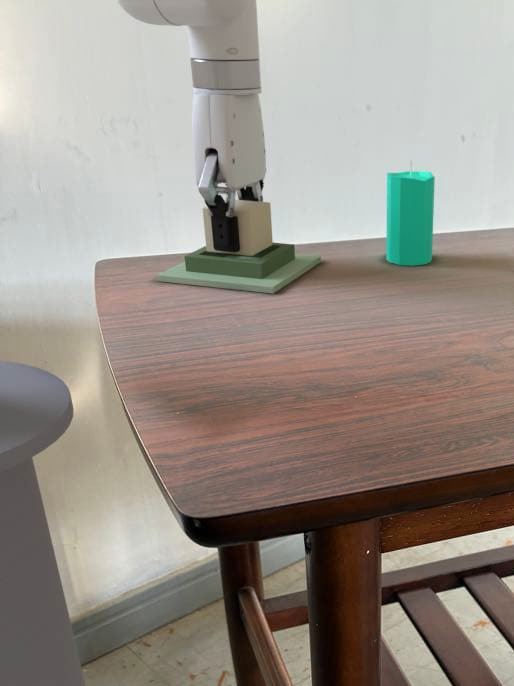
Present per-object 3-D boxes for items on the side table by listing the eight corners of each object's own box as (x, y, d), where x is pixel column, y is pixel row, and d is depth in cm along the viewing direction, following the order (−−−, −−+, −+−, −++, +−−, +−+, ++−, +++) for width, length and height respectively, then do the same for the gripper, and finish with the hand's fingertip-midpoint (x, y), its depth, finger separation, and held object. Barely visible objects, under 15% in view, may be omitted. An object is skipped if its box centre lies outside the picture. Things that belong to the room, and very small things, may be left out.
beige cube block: (252, 256, 103) (249, 211, 101) (206, 251, 105) (202, 207, 102) (272, 244, 108) (270, 202, 106) (229, 240, 110) (225, 198, 107)
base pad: (273, 293, 100) (272, 271, 99) (157, 281, 104) (154, 259, 102) (321, 262, 112) (320, 241, 111) (215, 252, 116) (213, 231, 115)
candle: (387, 265, 112) (388, 164, 105) (385, 253, 117) (385, 157, 110) (434, 265, 112) (438, 165, 106) (429, 253, 117) (432, 157, 111)
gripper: (230, 72, 105) (242, 227, 114) (156, 81, 91) (176, 258, 100) (288, 74, 103) (295, 232, 112) (221, 84, 89) (236, 264, 98)
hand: (239, 243), depth 106 cm, fingers closed on beige cube block, 5 cm apart
